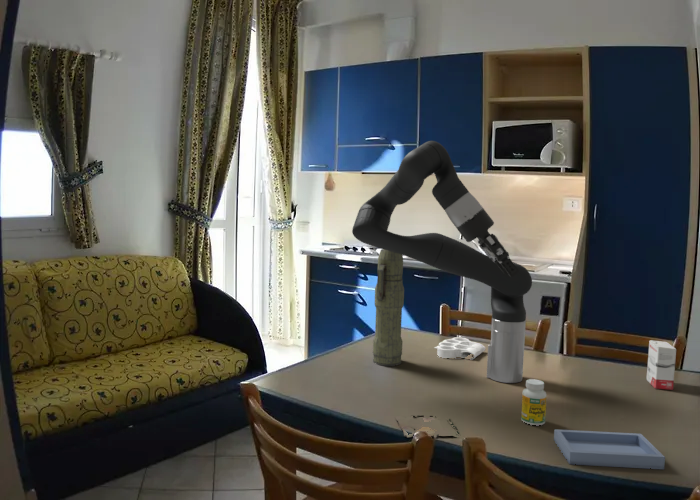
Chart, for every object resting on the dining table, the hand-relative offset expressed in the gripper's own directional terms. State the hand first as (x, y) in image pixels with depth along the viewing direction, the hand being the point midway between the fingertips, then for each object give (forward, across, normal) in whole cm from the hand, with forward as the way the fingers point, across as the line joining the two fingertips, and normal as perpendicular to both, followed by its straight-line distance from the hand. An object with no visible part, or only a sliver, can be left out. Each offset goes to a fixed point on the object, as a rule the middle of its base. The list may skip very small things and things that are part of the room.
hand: (512, 273), depth 134 cm
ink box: (+54, -38, +17) cm, 68 cm away
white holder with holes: (+18, -59, -24) cm, 66 cm away
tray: (+39, +12, -8) cm, 42 cm away
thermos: (+5, -44, -42) cm, 61 cm away
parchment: (+16, +4, -36) cm, 40 cm away
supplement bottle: (+31, -3, -17) cm, 35 cm away
